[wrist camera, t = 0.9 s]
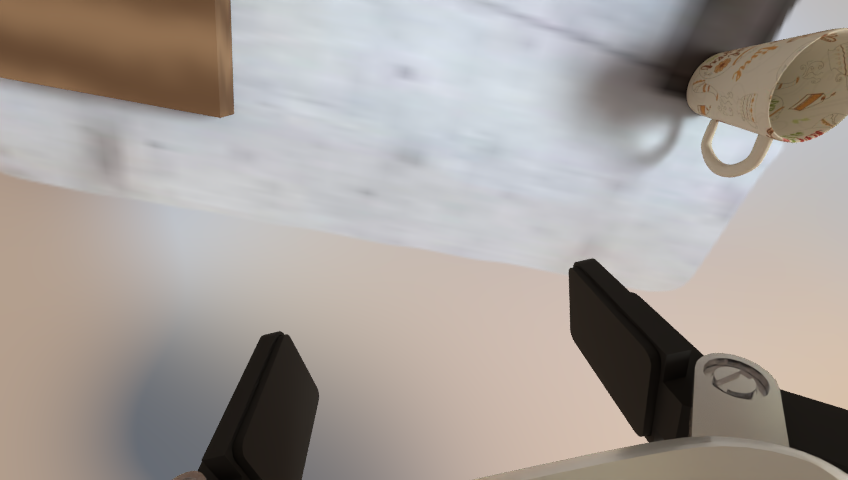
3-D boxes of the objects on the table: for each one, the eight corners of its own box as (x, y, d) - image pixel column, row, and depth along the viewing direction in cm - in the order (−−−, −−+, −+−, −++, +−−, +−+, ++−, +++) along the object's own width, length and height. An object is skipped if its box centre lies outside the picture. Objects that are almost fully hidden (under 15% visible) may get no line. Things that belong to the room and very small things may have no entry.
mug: (767, 39, 35) (899, 28, 26) (719, 163, 40) (814, 190, 31) (691, 38, 34) (798, 26, 25) (652, 164, 39) (729, 192, 31)
